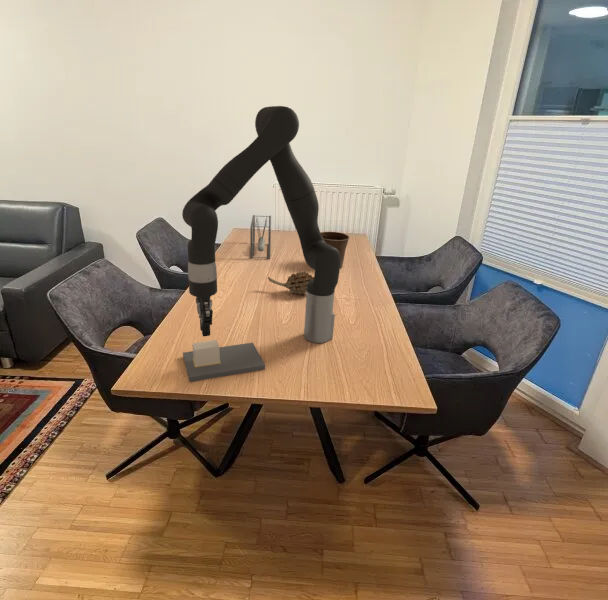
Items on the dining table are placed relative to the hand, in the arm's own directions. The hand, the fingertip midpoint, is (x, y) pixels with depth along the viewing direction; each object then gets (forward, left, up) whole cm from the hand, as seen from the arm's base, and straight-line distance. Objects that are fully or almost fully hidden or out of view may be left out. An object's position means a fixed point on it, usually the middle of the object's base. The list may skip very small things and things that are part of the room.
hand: (205, 332), depth 118 cm
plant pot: (-77, -76, -11) cm, 109 cm away
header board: (-5, 0, -11) cm, 12 cm away
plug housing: (0, 0, -9) cm, 9 cm away
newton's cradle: (-48, -108, -11) cm, 119 cm away
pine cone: (-44, -47, -11) cm, 65 cm away
